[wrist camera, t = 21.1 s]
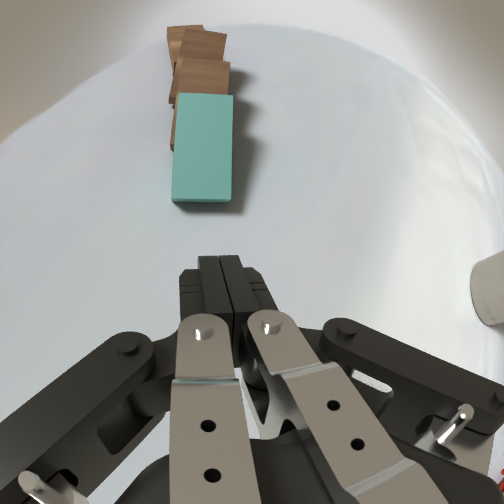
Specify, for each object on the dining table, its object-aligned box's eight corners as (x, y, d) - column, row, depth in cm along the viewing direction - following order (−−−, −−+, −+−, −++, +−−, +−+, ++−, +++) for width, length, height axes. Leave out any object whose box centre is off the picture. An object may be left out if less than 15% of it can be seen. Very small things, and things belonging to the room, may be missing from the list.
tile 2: (170, 149, 27) (182, 67, 27) (221, 152, 28) (227, 70, 28) (170, 143, 25) (182, 58, 25) (223, 147, 27) (230, 62, 26)
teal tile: (172, 201, 25) (178, 101, 25) (228, 202, 27) (230, 103, 27) (171, 198, 24) (178, 92, 24) (231, 199, 25) (233, 95, 25)
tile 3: (168, 103, 29) (183, 36, 28) (213, 108, 30) (223, 41, 30) (169, 96, 27) (185, 28, 27) (216, 102, 28) (227, 34, 28)
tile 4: (173, 73, 30) (166, 36, 33) (213, 70, 31) (200, 34, 34) (173, 62, 28) (167, 27, 31) (215, 59, 30) (202, 24, 32)
